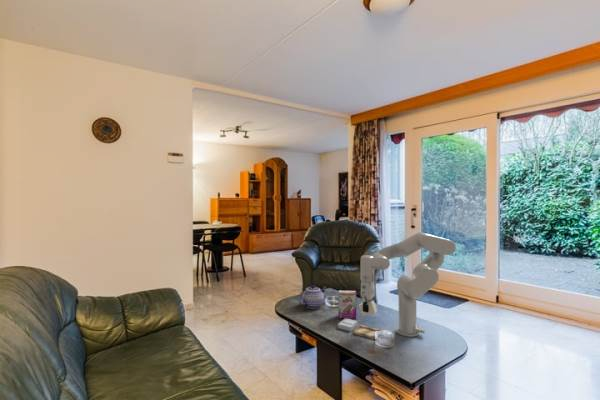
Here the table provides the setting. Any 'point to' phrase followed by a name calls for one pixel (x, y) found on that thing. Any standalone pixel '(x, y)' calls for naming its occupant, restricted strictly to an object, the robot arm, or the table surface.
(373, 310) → the stub
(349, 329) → the striped square panel
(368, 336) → the tray
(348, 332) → the perforation
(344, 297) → the candy bar box
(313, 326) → the table surface
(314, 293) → the teapot
